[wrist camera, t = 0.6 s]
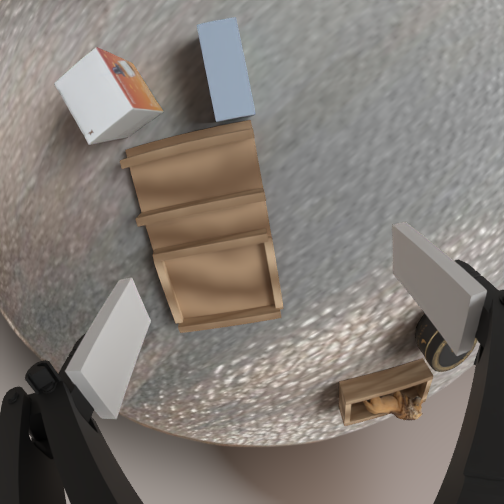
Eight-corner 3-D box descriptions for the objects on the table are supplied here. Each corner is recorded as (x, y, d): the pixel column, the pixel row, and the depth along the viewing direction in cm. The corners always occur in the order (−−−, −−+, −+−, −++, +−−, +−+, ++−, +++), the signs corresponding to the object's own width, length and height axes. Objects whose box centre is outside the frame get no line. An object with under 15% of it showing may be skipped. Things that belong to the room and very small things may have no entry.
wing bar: (219, 121, 34) (216, 121, 29) (202, 36, 29) (196, 24, 25) (253, 115, 34) (255, 114, 29) (236, 30, 29) (235, 17, 25)
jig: (128, 149, 34) (117, 152, 31) (250, 119, 34) (251, 119, 30) (180, 320, 44) (176, 335, 41) (282, 304, 44) (285, 319, 40)
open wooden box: (339, 381, 51) (345, 401, 46) (422, 358, 50) (433, 375, 45) (338, 406, 54) (344, 426, 49) (416, 384, 53) (425, 401, 49)
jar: (417, 305, 45) (439, 332, 38) (463, 295, 45) (486, 319, 38) (407, 350, 49) (424, 379, 42) (450, 339, 49) (469, 364, 42)
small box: (164, 112, 33) (135, 110, 23) (127, 138, 34) (88, 147, 24) (133, 61, 30) (96, 44, 20) (97, 89, 31) (52, 83, 21)
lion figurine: (414, 375, 52) (431, 407, 43) (402, 393, 54) (417, 425, 45) (349, 377, 50) (363, 415, 42) (339, 396, 52) (350, 433, 44)
